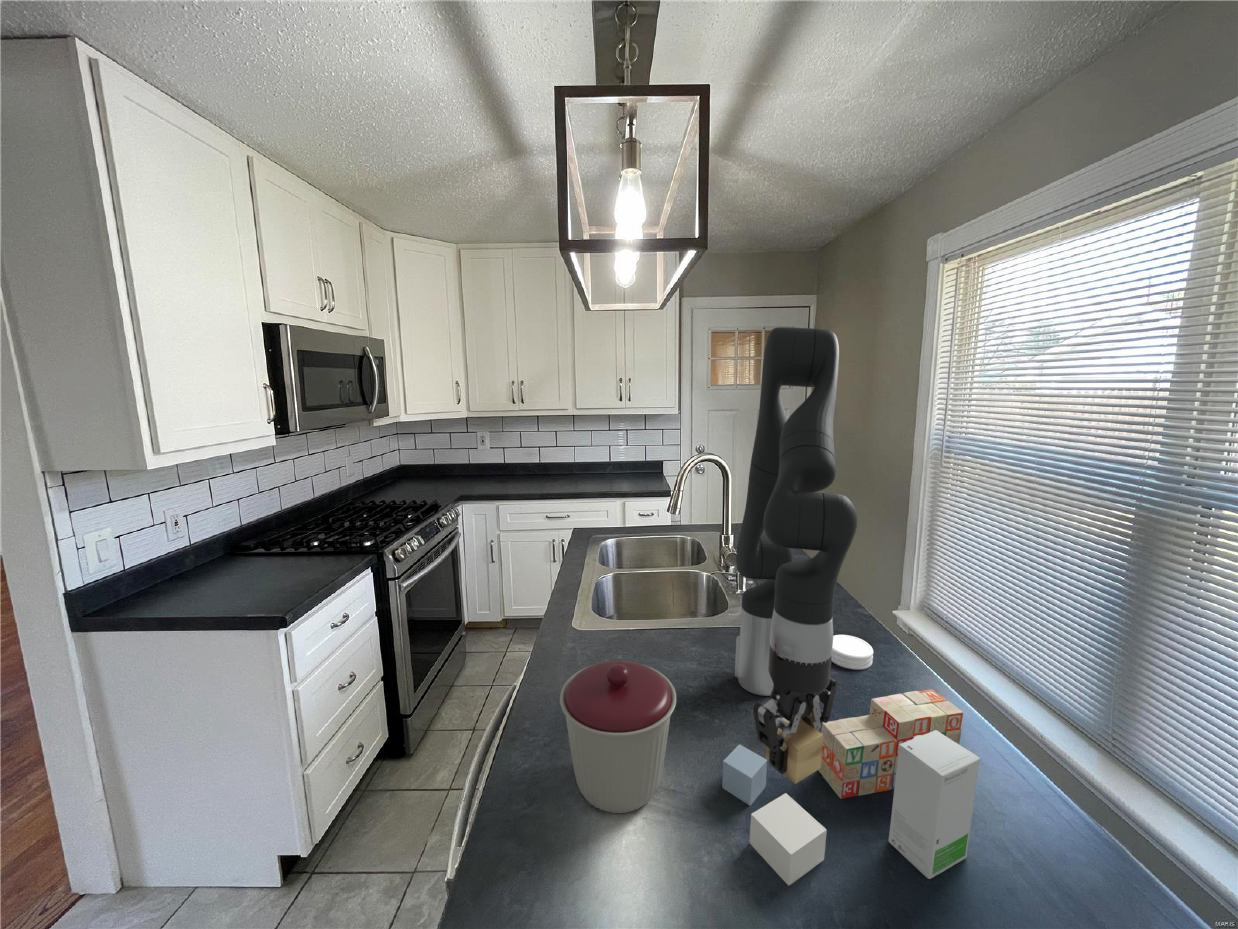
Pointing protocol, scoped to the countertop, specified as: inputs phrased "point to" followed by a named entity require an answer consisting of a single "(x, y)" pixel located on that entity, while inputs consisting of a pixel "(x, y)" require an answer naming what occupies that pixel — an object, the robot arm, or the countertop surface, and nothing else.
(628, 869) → the countertop surface
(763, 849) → the base block
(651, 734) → the canister
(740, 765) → the slate cube
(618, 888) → the countertop surface
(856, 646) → the white thick disc
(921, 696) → the stack of blocks
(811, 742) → the maple cube
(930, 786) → the skincare box
